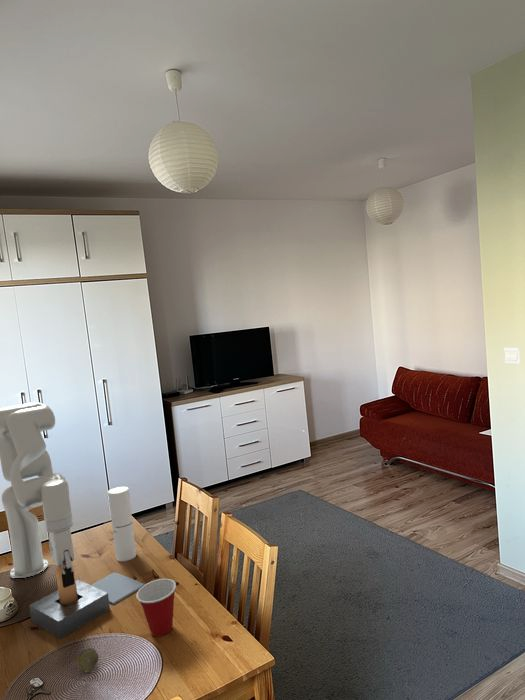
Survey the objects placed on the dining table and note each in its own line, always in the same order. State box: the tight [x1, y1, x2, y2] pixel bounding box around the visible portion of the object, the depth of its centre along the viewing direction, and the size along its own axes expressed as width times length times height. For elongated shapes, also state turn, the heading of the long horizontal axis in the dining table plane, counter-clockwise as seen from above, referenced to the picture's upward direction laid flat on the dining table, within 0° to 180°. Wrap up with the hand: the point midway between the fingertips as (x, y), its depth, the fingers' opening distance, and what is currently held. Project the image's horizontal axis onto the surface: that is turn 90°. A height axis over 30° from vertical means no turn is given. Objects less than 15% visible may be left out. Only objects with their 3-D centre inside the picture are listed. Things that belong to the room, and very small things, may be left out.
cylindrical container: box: [107, 486, 137, 562], centre depth 186 cm, size 7×7×25 cm
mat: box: [90, 571, 145, 605], centre depth 165 cm, size 16×12×1 cm
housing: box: [29, 579, 111, 640], centre depth 152 cm, size 16×16×5 cm
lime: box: [77, 647, 99, 673], centre depth 127 cm, size 4×5×5 cm
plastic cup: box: [136, 578, 177, 637], centre depth 140 cm, size 11×11×12 cm
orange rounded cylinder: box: [55, 562, 78, 607], centre depth 152 cm, size 5×5×11 cm
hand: (66, 581), depth 152 cm, fingers closed on orange rounded cylinder, 5 cm apart
